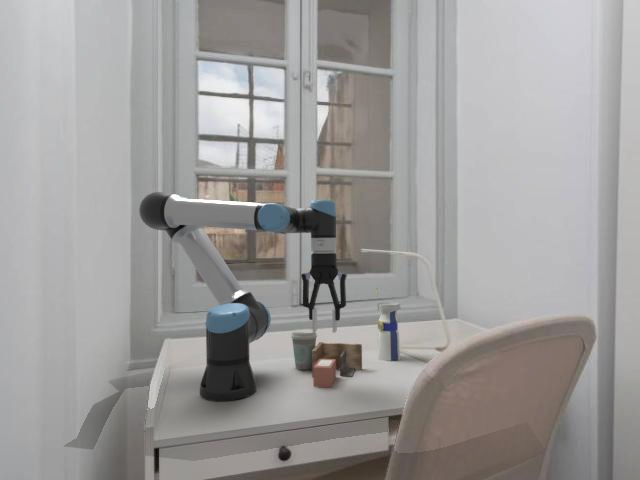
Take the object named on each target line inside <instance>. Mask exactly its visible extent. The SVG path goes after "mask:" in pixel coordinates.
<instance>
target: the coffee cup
mask: <svg viewBox="0 0 640 480" xmlns="http://www.w3.org/2000/svg"><path fill="white" fill-rule="evenodd" d="M317 337H318V334H317V330H316V331H315V332H313V328H299V329H298V328H297V329H294V330H292V334H291V340H292V347H293V348H292V350H293V356H294V365H295V369H297V370H300V371H309V370H312V350H313V349H314V348H315V347H316V343H317V342H316V341H317Z"/></svg>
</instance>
